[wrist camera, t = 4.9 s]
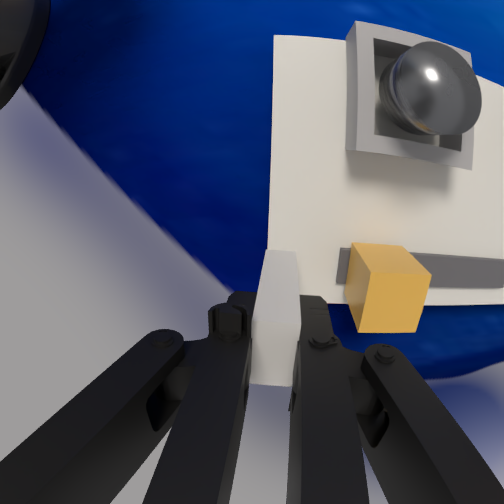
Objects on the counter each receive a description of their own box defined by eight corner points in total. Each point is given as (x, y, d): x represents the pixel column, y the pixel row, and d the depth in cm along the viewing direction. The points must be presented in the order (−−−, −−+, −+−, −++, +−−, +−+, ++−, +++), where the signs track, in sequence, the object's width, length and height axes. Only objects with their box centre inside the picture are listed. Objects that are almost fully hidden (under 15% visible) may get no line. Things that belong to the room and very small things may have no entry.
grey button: (378, 128, 12) (401, 124, 9) (377, 50, 11) (398, 30, 8) (448, 142, 12) (481, 144, 9) (447, 69, 10) (478, 57, 8)
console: (267, 278, 20) (261, 322, 15) (275, 48, 15) (271, 13, 10) (524, 287, 18) (558, 315, 13) (548, 122, 13) (590, 125, 8)
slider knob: (344, 292, 16) (358, 332, 13) (351, 242, 15) (370, 272, 12) (392, 294, 16) (415, 332, 12) (401, 245, 15) (431, 275, 11)
